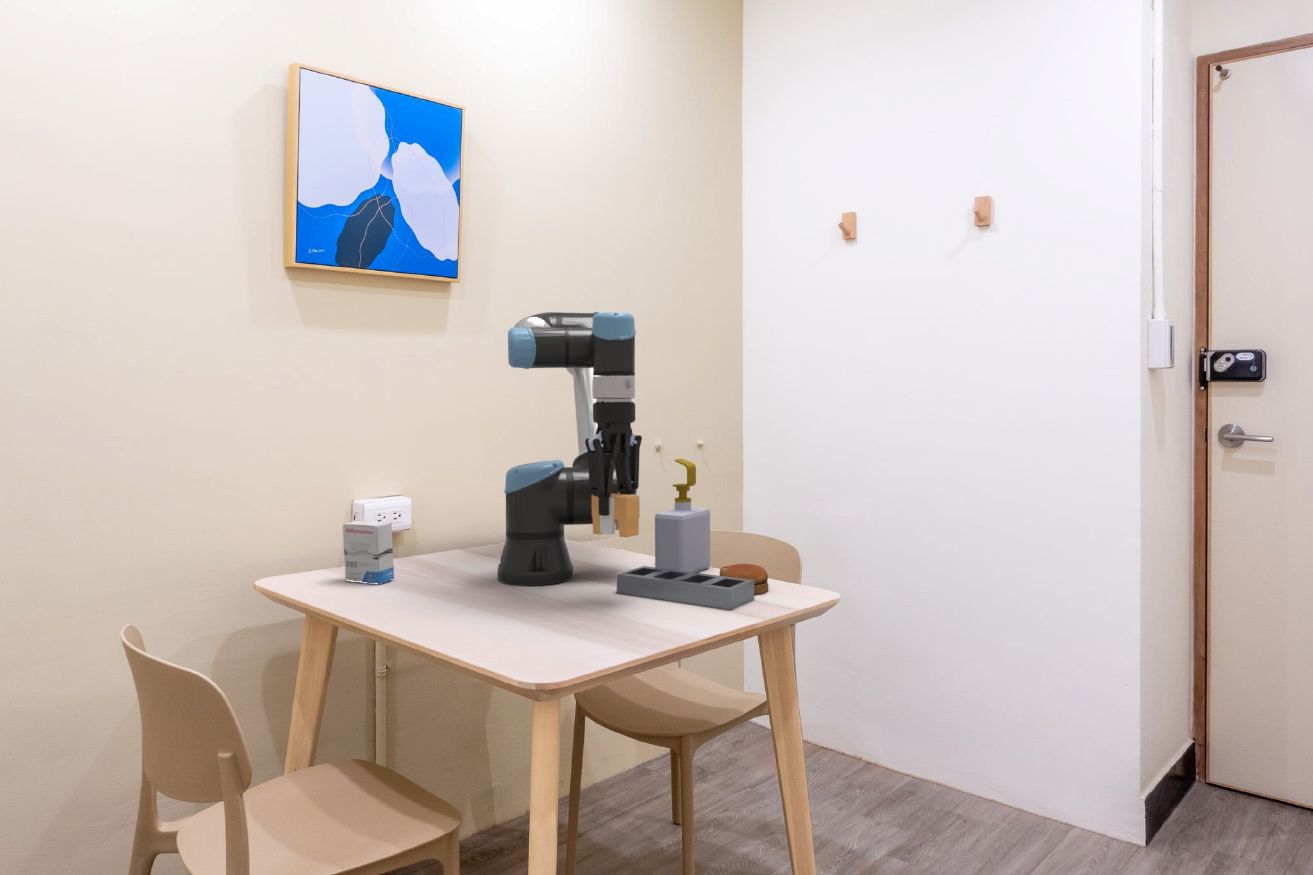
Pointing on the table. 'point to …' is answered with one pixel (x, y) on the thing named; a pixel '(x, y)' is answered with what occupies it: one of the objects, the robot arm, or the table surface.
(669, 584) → the grey compartment tray
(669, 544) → the soap bottle
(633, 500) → the orange bridge block
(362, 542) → the ink box
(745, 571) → the burger
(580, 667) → the table surface
